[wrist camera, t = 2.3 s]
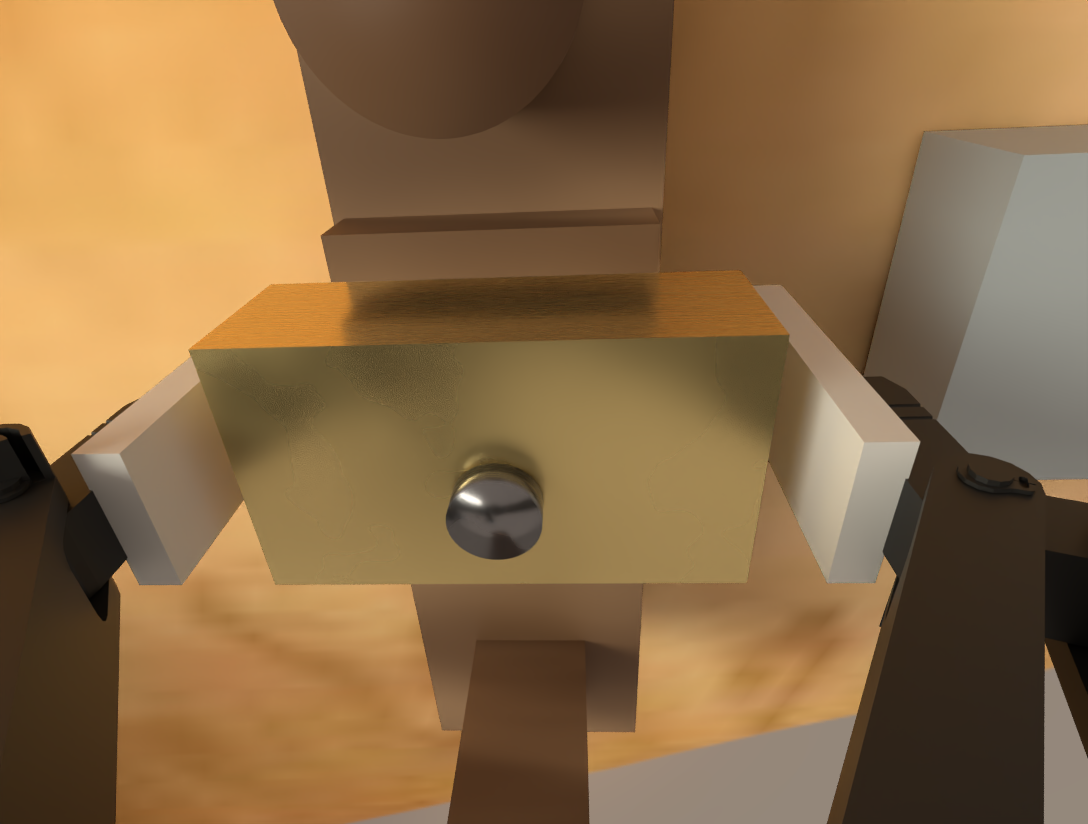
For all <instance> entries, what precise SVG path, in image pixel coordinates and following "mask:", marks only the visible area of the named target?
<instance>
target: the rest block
mask: <svg viewBox="0 0 1088 824" xmlns="http://www.w3.org/2000/svg"><path fill="white" fill-rule="evenodd" d="M875 376H882V377H884V378H886V379H888V380H890V381H892V382H894V383H896V384H898V385H899V386H901V387H903V388H905V389H906V390H907V391H908V392H909V393H910V394H911V395H912V396H913V397H914V398H915V399H916V400H917V401H918V402H919V403H920V404H921V405H920V406H921V407H924V408H925V409H926V410H927V411H928V412H929V413H930V414H931V415H932V416H933V417H932V418H933V419H936V420H937V421H938V422H939V423H940V424H941V425H942V426H943V427H944V428H945V429H946V430H947V431H948V432H949V433H950V434H951V435H952V436H953V437H954V438H955V439H956V440H957V442H958V443H959V444H960V445H961V446H962V447H963V448H964V449H965V450H966V451H967V452H968V453H973V454H979V455H985V456H991V457H994V458H997V459H1000V460H1003V461H1006V462H1009V463H1012V464H1013V465H1015V466H1017V467H1019V468H1021V469H1023V470H1025V471H1026V472H1028V473H1030V474H1031V475H1032V476H1033V477H1034V478H1035V479H1036V480H1051V479H1088V125H1067V126H1043V127H1019V128H995V129H972V130H948V131H924V133H923V137H922V141H921V145H920V150H919V154H918V158H917V162H916V166H915V170H914V174H913V178H912V182H911V186H910V190H909V194H908V198H907V202H906V206H905V210H904V214H903V218H902V222H901V226H900V230H899V234H898V238H897V242H896V246H895V250H894V254H893V259H892V263H891V267H890V271H889V275H888V279H887V283H886V287H885V291H884V295H883V299H882V303H881V307H880V311H879V315H878V319H877V323H876V327H875V331H874V335H873V339H872V343H871V347H870V351H869V355H868V359H867V363H866V368H865V372H864V376H863V377H875Z"/></svg>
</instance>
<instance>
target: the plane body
mask: <svg viewBox="0 0 1088 824" xmlns="http://www.w3.org/2000/svg"><path fill="white" fill-rule="evenodd" d="M273 1H274V3H275V6H276V8H277V11H278V14H279V16H280V19H281V21H282V23H283V25H284V27H285V29H286V31H287V33H288V35H289V37H290V39H291V41H292V43H293V44H294V46H295V47H296V49H297V53H298V57H299V62H300V67H301V71H302V76H303V81H304V86H305V90H306V95H307V100H308V104H309V109H310V114H311V118H312V123H313V128H314V132H315V137H316V142H317V146H318V151H319V156H320V160H321V165H322V170H323V175H324V179H325V184H326V189H327V193H328V198H329V203H330V207H331V212H332V217H333V221H334V226H333V227H332V228H330V229H329V230H328V231H326V232H325V233H324V234H322V235H321V239H322V243H323V248H324V252H325V257H326V261H327V265H328V270H329V274H330V279H331V282H370V281H403V280H436V279H468V278H501V277H534V276H567V275H600V274H633V273H660V254H661V236H662V217H663V198H664V179H665V161H666V142H667V123H668V104H669V85H670V67H671V48H672V29H673V10H674V0H273ZM411 587H412V591H413V596H414V601H415V605H416V610H417V615H418V619H419V624H420V629H421V633H422V638H423V643H424V647H425V652H426V657H427V661H428V666H429V671H430V676H431V680H432V685H433V690H434V694H435V699H436V704H437V708H438V713H439V718H440V722H441V727H442V730H462V734H461V740H460V747H459V753H458V759H457V765H456V772H455V778H454V784H453V791H452V797H451V803H450V809H449V816H448V822H447V824H589V792H588V749H587V732H635V723H636V704H637V686H638V667H639V648H640V629H641V611H642V592H643V583H610V584H411Z"/></svg>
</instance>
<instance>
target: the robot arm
mask: <svg viewBox="0 0 1088 824" xmlns="http://www.w3.org/2000/svg"><path fill="white" fill-rule="evenodd" d="M753 287H754V288H755V290H756V291H757V292H758V294H759V295H760V296H761V298H762V299H763V300H764V302H765V303H766V304H767V305H768V307H769V308H770V309H771V311H772V312H773V313H774V315H775V316H776V317H777V319H778V320H779V321H780V322H781V324H782V325H783V326H784V328H785V329H786V330H787V332H788V333H789V334H790V336H789V342H788V348H787V354H786V360H785V365H784V371H783V377H782V383H781V389H780V394H779V400H778V406H777V412H776V418H775V423H774V429H773V435H772V441H771V446H770V452H769V458H768V461H769V463H770V465H771V467H772V469H773V471H774V473H775V475H776V477H777V479H778V482H779V484H780V486H781V488H782V490H783V492H784V494H785V496H786V498H787V500H788V502H789V505H790V507H791V509H792V511H793V513H794V515H795V517H796V519H797V521H798V523H799V526H800V528H801V530H802V532H803V534H804V536H805V538H806V540H807V542H808V544H809V546H810V549H811V551H812V553H813V555H814V557H815V559H816V561H817V563H818V565H819V567H820V569H821V572H822V574H823V576H824V578H825V580H826V582H827V583H875V582H876V579H877V576H878V573H879V570H880V566H881V563H882V560H883V557H884V555H885V557H886V559H887V560H888V562H889V563H890V565H891V567H892V568H893V570H894V572H895V573H896V575H897V576H896V579H895V582H894V585H893V588H892V591H891V593H890V596H889V599H888V602H887V605H886V608H885V611H884V614H883V617H882V620H881V623H880V627H881V630H880V633H879V637H878V641H877V644H876V648H875V651H874V655H873V659H872V662H871V666H870V670H869V673H868V677H867V680H866V684H865V688H864V691H863V695H862V698H861V702H860V706H859V709H858V713H857V717H856V720H855V724H854V728H853V731H852V735H851V738H850V742H849V746H848V750H847V753H846V757H845V760H844V764H843V767H842V771H841V775H840V778H839V782H838V785H837V789H836V793H835V796H834V800H833V803H832V807H831V811H830V814H829V818H828V821H827V824H1044V676H1045V675H1044V674H1045V644H1046V646H1047V649H1048V652H1049V654H1050V657H1051V660H1052V662H1053V665H1054V668H1055V671H1056V673H1057V676H1058V678H1059V681H1060V684H1061V687H1062V690H1063V692H1064V695H1065V698H1066V700H1067V703H1068V706H1069V708H1070V711H1071V714H1072V717H1073V719H1074V722H1075V725H1076V727H1077V730H1078V733H1079V736H1080V738H1081V741H1082V744H1083V746H1084V749H1085V752H1086V754H1087V757H1088V503H1085V502H1079V501H1073V500H1068V499H1062V498H1056V497H1051V496H1046V495H1045V492H1044V490H1043V487H1042V485H1041V483H1040V482H1039V481H1037V480H1036V479H1035V478H1034V477H1033V476H1032V475H1031V474H1030V473H1028V472H1026V471H1025V470H1023V469H1021V468H1019V467H1017V466H1015V465H1013V464H1012V463H1009V462H1006V461H1003V460H1000V459H997V458H994V457H991V456H985V455H979V454H973V453H968V452H967V451H966V450H965V449H964V448H963V447H962V446H961V445H960V444H959V443H958V442H957V440H956V439H955V438H954V437H953V436H952V435H951V434H950V433H949V432H948V431H947V430H946V429H945V428H944V427H943V426H942V425H941V424H940V423H939V422H938V421H937V420H936V419H933V418H932V417H933V416H932V415H931V414H930V413H929V412H928V411H927V410H926V409H925V408H924V407H921V406H920V405H921V404H920V403H919V402H918V401H917V400H916V399H915V398H914V397H913V396H912V395H911V394H910V393H909V392H908V391H907V390H906V389H905V388H903V387H901V386H899V385H898V384H896V383H894V382H892V381H890V380H888V379H886V378H884V377H882V376H875V377H863V376H862V375H861V374H860V373H859V372H858V371H857V370H856V368H855V367H854V366H853V365H852V364H851V363H850V362H849V361H848V359H847V358H846V357H845V356H844V355H843V354H842V353H841V351H840V350H839V349H838V348H837V347H836V346H835V345H834V344H833V342H832V341H831V340H830V339H829V338H828V337H827V336H826V335H825V333H824V332H823V331H822V330H821V329H820V328H819V327H818V326H817V324H816V323H815V322H814V321H813V320H812V319H811V318H810V317H809V315H808V314H807V313H806V312H805V311H804V310H803V309H802V308H801V306H800V305H799V304H798V303H797V302H796V301H795V300H794V299H793V297H792V296H791V295H790V294H789V293H788V292H787V291H786V289H785V288H784V287H783V286H782V285H755V286H753ZM91 433H92V435H88V436H86V437H85V438H84V439H83V440H81V441H80V442H79V443H78V444H76V445H75V446H74V447H73V448H71V449H70V450H69V451H68V452H66V453H65V454H64V455H63V456H61V457H60V458H59V459H58V460H56V461H55V462H54V463H53V464H51V465H50V464H49V463H48V461H47V459H46V457H45V455H44V453H43V452H42V450H41V448H40V446H39V444H38V443H37V441H36V439H35V437H34V435H33V434H32V432H31V430H30V428H29V427H27V426H24V425H22V424H1V425H0V824H115V822H116V775H117V729H118V682H119V636H120V592H119V590H118V587H117V585H116V584H115V582H114V580H113V578H112V575H113V574H114V573H115V572H116V571H117V569H118V568H119V567H120V566H121V565H122V564H123V563H124V561H125V560H127V562H128V564H129V566H130V568H131V570H132V572H133V573H134V575H135V577H136V579H137V581H138V583H139V585H182V584H183V583H184V582H185V580H186V579H187V578H188V576H189V575H190V573H191V572H192V571H193V569H194V568H195V566H196V565H197V564H198V562H199V561H200V560H201V558H202V557H203V555H204V554H205V553H206V551H207V550H208V549H209V547H210V546H211V544H212V543H213V542H214V540H215V539H216V537H217V536H218V535H219V533H220V532H221V531H222V529H223V528H224V526H225V525H226V524H227V522H228V521H229V520H230V518H231V517H232V515H233V514H234V513H235V511H236V510H237V508H238V507H239V506H240V504H241V503H242V502H243V500H244V498H243V496H242V493H241V490H240V487H239V485H238V482H237V479H236V477H235V474H234V471H233V469H232V466H231V463H230V460H229V458H228V455H227V452H226V450H225V447H224V444H223V441H222V439H221V436H220V433H219V431H218V428H217V425H216V423H215V420H214V417H213V414H212V412H211V409H210V406H209V404H208V401H207V398H206V395H205V393H204V390H203V387H202V385H201V382H200V379H199V377H198V374H197V371H196V368H195V366H194V363H193V360H192V358H191V357H190V358H189V359H188V360H186V361H185V362H184V363H183V364H181V365H180V366H179V367H178V368H176V369H175V370H174V371H173V372H172V373H170V374H169V375H168V376H167V377H165V378H164V379H163V380H162V381H160V382H159V383H158V384H157V385H156V386H154V387H153V388H152V389H151V390H149V391H148V392H147V393H146V394H144V395H143V396H142V397H141V398H139V399H137V400H135V401H133V402H131V403H129V404H127V405H125V406H124V407H122V408H121V409H120V410H119V411H117V412H116V413H115V414H114V415H112V416H111V417H110V418H109V419H107V420H106V423H102V424H101V425H100V426H99V427H98V428H96V429H95V430H94V431H93V432H91Z"/></svg>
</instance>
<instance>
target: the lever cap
mask: <svg viewBox="0 0 1088 824" xmlns="http://www.w3.org/2000/svg"><path fill="white" fill-rule="evenodd" d="M789 336H790V334H789V333H788V332H787V330H786V329H785V328H784V326H783V325H782V324H781V322H780V321H779V320H778V319H777V317H776V316H775V315H774V313H773V312H772V311H771V309H770V308H769V307H768V305H767V304H766V303H765V302H764V300H763V299H762V298H761V296H760V295H759V294H758V292H757V291H756V290H755V288H754V287H753V286H752V285H751V283H750V282H749V281H748V279H747V278H746V277H745V275H744V274H743V273H742V271H741V270H731V271H698V272H665V273H633V274H600V275H567V276H534V277H501V278H468V279H436V280H403V281H370V282H337V283H304V284H271V285H270V286H268V287H267V288H266V289H265V290H263V291H262V292H261V293H260V294H258V295H257V296H256V297H254V298H253V299H252V300H251V301H249V302H248V303H247V304H246V305H244V306H243V307H242V308H241V309H239V310H238V311H237V312H235V313H234V314H233V315H232V316H230V317H229V318H228V319H227V320H225V321H224V322H223V323H222V324H220V325H219V326H218V327H216V328H215V329H214V330H213V331H211V332H210V333H209V334H208V335H206V336H205V337H204V338H203V339H201V340H200V341H199V342H197V343H196V344H195V345H194V346H192V347H191V348H190V349H189V352H190V355H191V358H192V360H193V363H194V366H195V368H196V371H197V374H198V377H199V379H200V382H201V385H202V387H203V390H204V393H205V395H206V398H207V401H208V404H209V406H210V409H211V412H212V414H213V417H214V420H215V423H216V425H217V428H218V431H219V433H220V436H221V439H222V441H223V444H224V447H225V450H226V452H227V455H228V458H229V460H230V463H231V466H232V469H233V471H234V474H235V477H236V479H237V482H238V485H239V487H240V490H241V493H242V496H243V498H244V501H245V504H246V506H247V509H248V512H249V514H250V517H251V520H252V523H253V525H254V528H255V531H256V533H257V536H258V539H259V542H260V544H261V547H262V550H263V552H264V555H265V558H266V560H267V563H268V566H269V569H270V571H271V574H272V577H273V579H274V582H275V585H308V584H610V583H747V580H748V574H749V568H750V562H751V556H752V551H753V545H754V539H755V533H756V528H757V522H758V516H759V510H760V504H761V499H762V493H763V487H764V481H765V475H766V470H767V464H768V458H769V452H770V446H771V441H772V435H773V429H774V423H775V418H776V412H777V406H778V400H779V394H780V389H781V383H782V377H783V371H784V365H785V360H786V354H787V348H788V342H789Z"/></svg>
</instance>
